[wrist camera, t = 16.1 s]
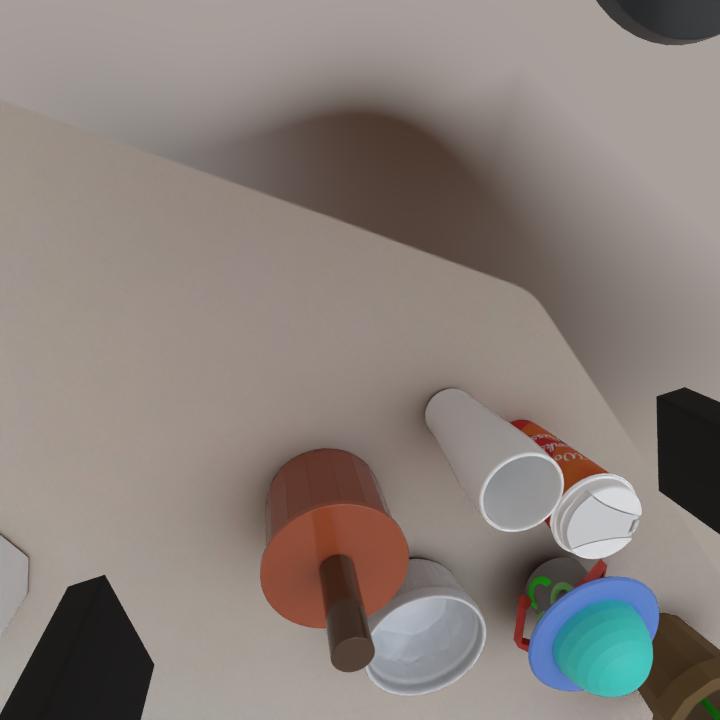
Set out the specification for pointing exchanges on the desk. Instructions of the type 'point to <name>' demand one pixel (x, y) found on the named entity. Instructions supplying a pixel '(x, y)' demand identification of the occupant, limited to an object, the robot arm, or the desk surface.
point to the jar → (320, 485)
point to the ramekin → (425, 633)
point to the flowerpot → (682, 674)
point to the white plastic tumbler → (494, 462)
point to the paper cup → (587, 501)
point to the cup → (11, 581)
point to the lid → (336, 573)
